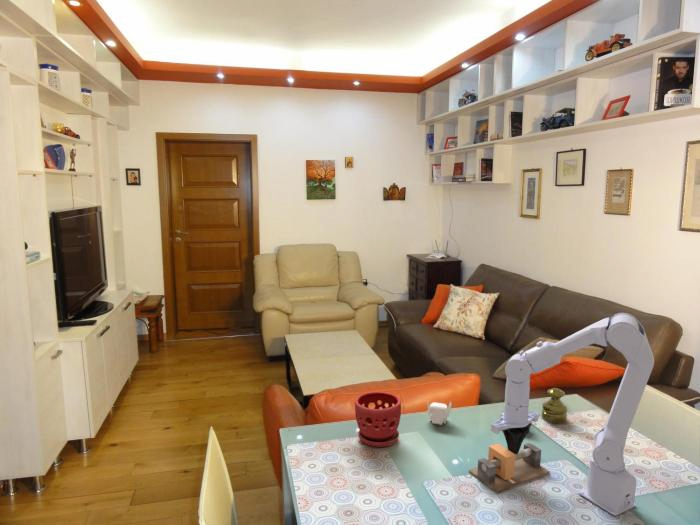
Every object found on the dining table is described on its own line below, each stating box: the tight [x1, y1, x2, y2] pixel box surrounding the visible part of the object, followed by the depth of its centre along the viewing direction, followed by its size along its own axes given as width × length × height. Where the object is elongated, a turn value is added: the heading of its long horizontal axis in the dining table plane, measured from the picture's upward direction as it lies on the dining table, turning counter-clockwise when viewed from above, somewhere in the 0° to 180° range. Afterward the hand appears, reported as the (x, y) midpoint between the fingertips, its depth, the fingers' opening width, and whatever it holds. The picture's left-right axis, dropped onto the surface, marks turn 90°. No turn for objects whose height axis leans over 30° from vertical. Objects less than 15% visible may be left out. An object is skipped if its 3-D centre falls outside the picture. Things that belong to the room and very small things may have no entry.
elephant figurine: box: [427, 397, 453, 426], centre depth 154 cm, size 8×10×7 cm
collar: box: [487, 443, 516, 480], centre depth 126 cm, size 6×3×6 cm, turn 29°
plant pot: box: [354, 391, 402, 448], centre depth 143 cm, size 13×13×12 cm
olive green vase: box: [541, 387, 569, 425], centre depth 157 cm, size 7×7×10 cm
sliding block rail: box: [468, 442, 551, 494], centre depth 128 cm, size 10×18×5 cm, turn 119°
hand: (513, 452), depth 128 cm, fingers closed
